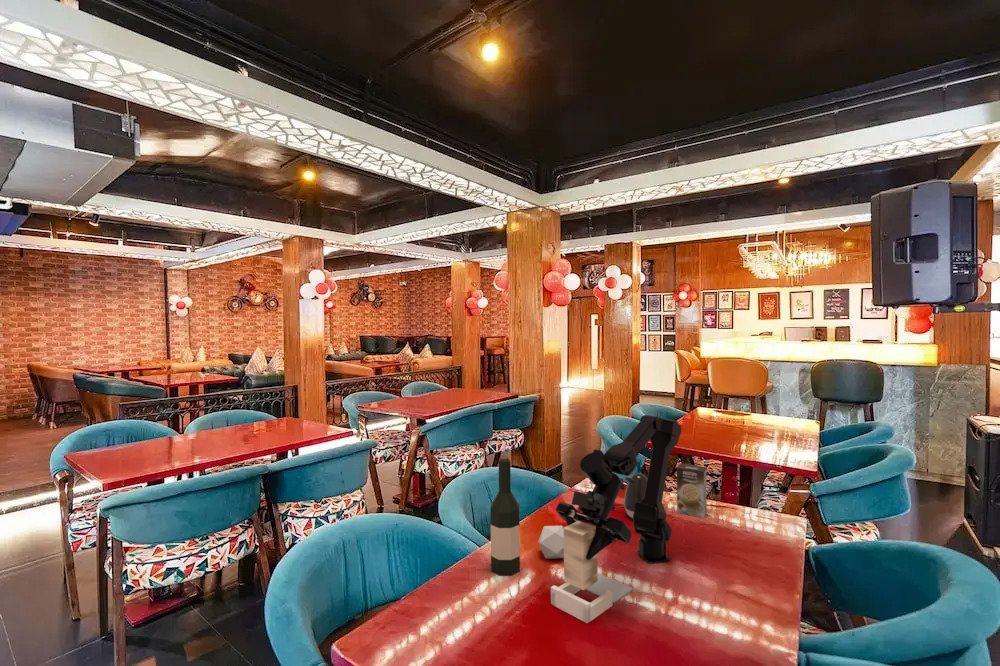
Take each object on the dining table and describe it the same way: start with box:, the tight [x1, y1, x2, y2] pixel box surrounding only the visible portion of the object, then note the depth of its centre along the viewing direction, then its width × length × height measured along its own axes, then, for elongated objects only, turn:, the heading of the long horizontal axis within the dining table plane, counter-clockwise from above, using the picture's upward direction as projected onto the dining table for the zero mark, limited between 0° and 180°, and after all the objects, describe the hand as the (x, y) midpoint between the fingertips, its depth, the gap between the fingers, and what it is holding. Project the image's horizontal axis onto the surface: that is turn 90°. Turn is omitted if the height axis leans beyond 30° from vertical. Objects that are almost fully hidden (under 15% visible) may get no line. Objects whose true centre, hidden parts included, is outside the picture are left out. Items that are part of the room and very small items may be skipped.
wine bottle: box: [490, 456, 521, 577], centre depth 128 cm, size 8×8×30 cm
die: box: [537, 525, 564, 560], centre depth 135 cm, size 8×9×10 cm
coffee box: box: [676, 462, 707, 519], centre depth 166 cm, size 9×6×16 cm
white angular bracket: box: [550, 582, 614, 624], centre depth 111 cm, size 10×10×4 cm
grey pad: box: [584, 573, 634, 604], centre depth 118 cm, size 8×10×1 cm
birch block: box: [563, 521, 599, 591], centre depth 111 cm, size 6×6×12 cm
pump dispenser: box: [623, 472, 648, 519], centre depth 162 cm, size 10×10×15 cm
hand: (577, 554), depth 110 cm, fingers closed on birch block, 5 cm apart
